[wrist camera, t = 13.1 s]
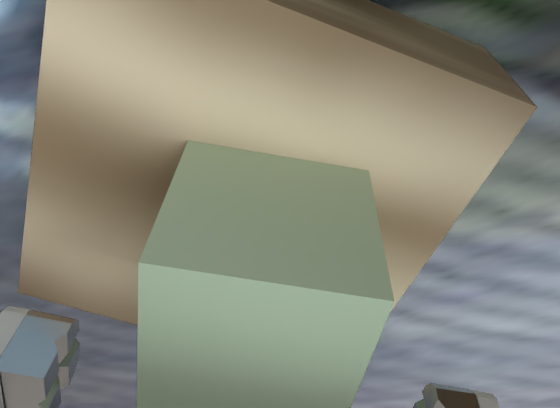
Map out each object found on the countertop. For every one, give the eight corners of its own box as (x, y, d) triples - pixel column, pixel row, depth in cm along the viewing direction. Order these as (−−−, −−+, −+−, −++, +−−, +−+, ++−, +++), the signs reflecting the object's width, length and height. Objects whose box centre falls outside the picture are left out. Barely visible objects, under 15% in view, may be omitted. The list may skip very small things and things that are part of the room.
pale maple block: (335, 288, 24) (341, 381, 20) (72, 207, 22) (17, 292, 18) (482, 44, 17) (537, 107, 13) (123, -103, 15) (54, -84, 11)
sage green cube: (329, 298, 17) (336, 441, 13) (178, 275, 17) (136, 414, 13) (368, 170, 14) (394, 301, 10) (188, 140, 14) (138, 262, 10)
